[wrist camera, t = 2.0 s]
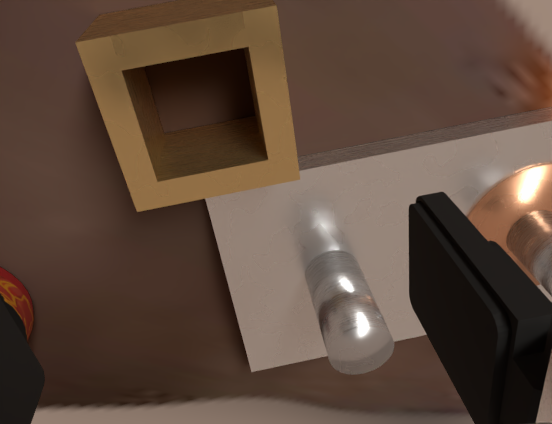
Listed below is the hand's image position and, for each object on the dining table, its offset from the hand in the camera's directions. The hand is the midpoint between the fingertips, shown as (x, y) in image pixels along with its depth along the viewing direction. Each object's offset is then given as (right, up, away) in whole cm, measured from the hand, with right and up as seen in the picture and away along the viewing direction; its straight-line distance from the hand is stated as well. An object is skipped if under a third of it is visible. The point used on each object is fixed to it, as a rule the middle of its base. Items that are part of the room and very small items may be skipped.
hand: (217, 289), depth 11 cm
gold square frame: (-2, +8, +12) cm, 14 cm away
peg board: (+10, 0, +19) cm, 21 cm away
